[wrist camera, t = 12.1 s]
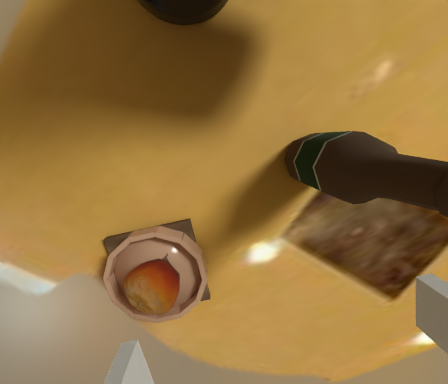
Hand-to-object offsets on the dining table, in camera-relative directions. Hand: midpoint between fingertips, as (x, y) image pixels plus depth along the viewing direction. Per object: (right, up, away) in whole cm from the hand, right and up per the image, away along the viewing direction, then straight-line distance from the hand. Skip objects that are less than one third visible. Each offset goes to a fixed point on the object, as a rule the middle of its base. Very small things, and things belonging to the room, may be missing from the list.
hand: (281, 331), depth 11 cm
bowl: (-14, -7, +27) cm, 31 cm away
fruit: (-13, -7, +27) cm, 31 cm away
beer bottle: (+11, +12, +25) cm, 30 cm away
